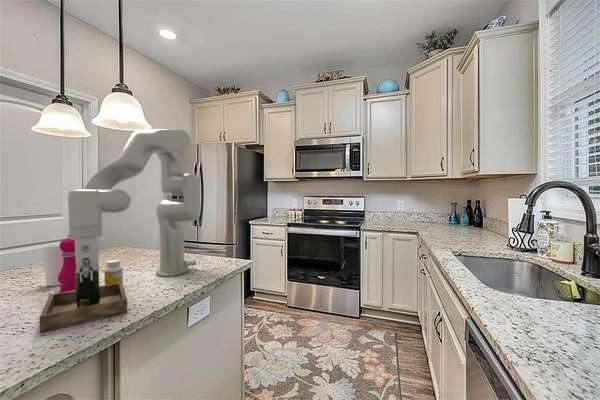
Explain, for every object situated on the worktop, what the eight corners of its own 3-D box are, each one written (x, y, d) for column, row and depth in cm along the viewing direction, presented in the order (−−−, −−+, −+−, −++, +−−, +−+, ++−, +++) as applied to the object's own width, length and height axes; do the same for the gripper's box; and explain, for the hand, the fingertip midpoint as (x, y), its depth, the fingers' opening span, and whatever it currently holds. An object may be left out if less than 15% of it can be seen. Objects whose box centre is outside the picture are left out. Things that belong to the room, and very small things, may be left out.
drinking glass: (54, 281, 103) (53, 242, 102) (73, 281, 103) (72, 242, 103) (38, 287, 96) (37, 246, 96) (58, 287, 97) (57, 246, 96)
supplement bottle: (102, 288, 96) (101, 261, 96) (119, 284, 100) (118, 258, 100) (108, 291, 93) (107, 263, 92) (125, 286, 97) (124, 260, 97)
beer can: (98, 308, 77) (96, 267, 77) (74, 312, 75) (72, 270, 74) (101, 301, 82) (100, 263, 81) (79, 305, 79) (77, 265, 79)
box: (122, 293, 91) (122, 282, 90) (127, 313, 76) (126, 299, 76) (50, 307, 80) (49, 294, 80) (39, 333, 65) (39, 317, 65)
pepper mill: (69, 293, 91) (68, 235, 90) (52, 292, 92) (51, 234, 91) (90, 286, 98) (88, 232, 97) (74, 285, 99) (72, 231, 99)
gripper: (102, 234, 73) (103, 296, 73) (101, 227, 86) (102, 280, 87) (66, 237, 68) (67, 303, 69) (71, 229, 82) (72, 284, 82)
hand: (87, 290), depth 78 cm, fingers open, 9 cm apart
